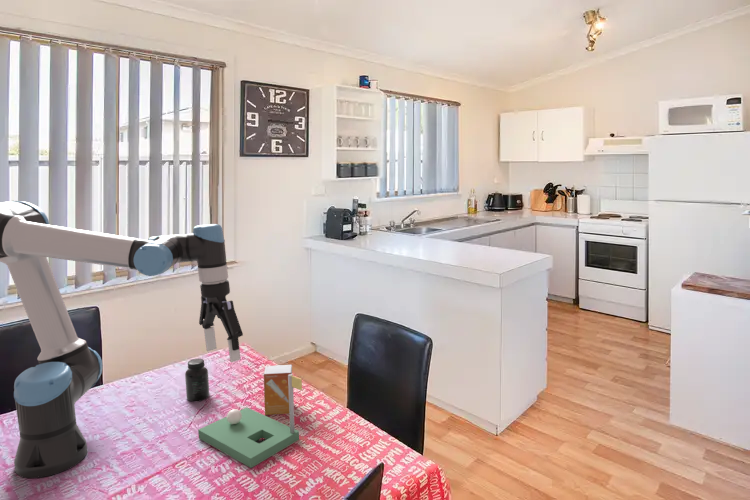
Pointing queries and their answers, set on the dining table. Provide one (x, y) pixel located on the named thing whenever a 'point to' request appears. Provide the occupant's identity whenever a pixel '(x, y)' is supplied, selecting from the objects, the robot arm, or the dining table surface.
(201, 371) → the supplement bottle
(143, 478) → the dining table surface
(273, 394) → the small box
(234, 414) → the ball
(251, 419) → the putting green
